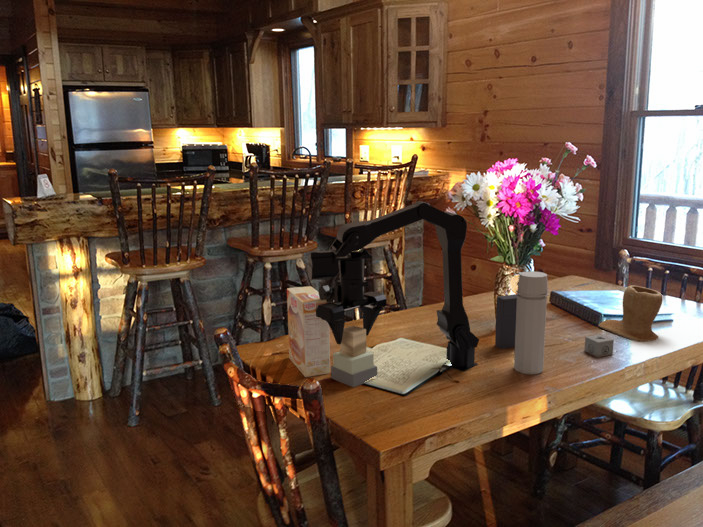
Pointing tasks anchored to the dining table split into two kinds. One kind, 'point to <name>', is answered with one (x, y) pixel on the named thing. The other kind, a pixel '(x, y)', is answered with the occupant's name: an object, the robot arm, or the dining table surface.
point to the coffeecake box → (307, 332)
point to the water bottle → (530, 322)
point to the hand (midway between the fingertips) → (352, 339)
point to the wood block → (353, 341)
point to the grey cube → (599, 345)
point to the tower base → (353, 376)
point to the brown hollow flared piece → (636, 314)
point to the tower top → (353, 362)
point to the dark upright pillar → (506, 321)
